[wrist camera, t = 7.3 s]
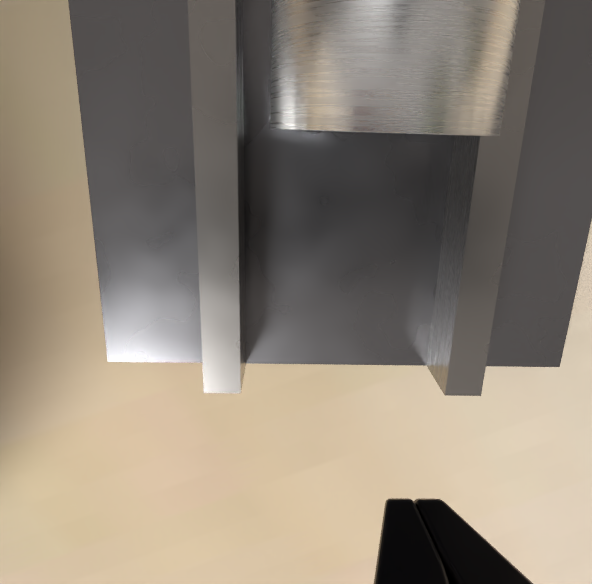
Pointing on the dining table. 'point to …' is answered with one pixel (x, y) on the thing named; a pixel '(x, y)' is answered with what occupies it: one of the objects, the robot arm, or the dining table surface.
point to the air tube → (391, 65)
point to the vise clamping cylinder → (326, 204)
